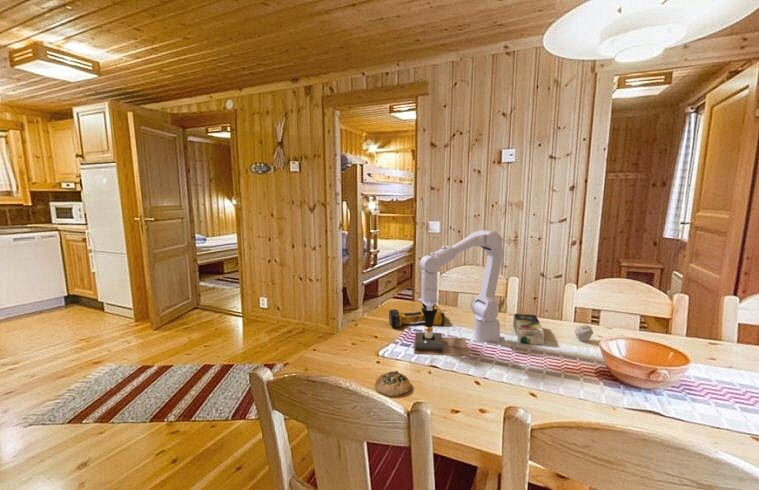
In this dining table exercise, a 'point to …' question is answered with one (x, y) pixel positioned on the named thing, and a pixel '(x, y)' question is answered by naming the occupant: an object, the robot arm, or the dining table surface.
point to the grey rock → (583, 332)
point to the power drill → (414, 317)
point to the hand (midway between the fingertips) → (428, 323)
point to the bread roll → (392, 384)
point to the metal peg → (428, 333)
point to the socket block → (428, 342)
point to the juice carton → (528, 329)
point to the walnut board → (449, 348)
